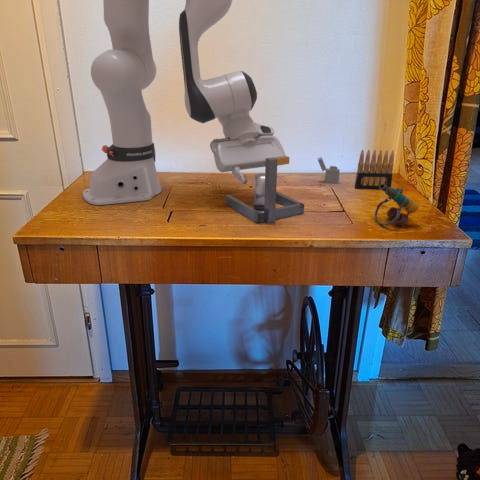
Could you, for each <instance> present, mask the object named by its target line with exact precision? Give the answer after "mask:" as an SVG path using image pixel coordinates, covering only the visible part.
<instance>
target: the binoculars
mask: <svg viewBox="0 0 480 480" xmlns="http://www.w3.org/2000/svg"><path fill="white" fill-rule="evenodd" d="M379 188H380V189H381V191H382V192H384V194H385V195H386V196H387V197H386V198H384V199H383V201H381V202H379V203H378V204H377V206H376V208H375V211H374V218H375V221H376V222H377V223H378V224H379V225H381V226H390V225H392V224H393V223H395V224H396V225H397V226H399V227H404V226H405V225H406V224H407V223H408V221H409V215H410V214H414V213H416V212H417V211H418V210H419V209H420V208H419V207H420V204H418V203H417V202H415V201H414V200H411V199H410V197H408V196H406V195H405V194H403V193H404V189H403V187H401V186H399V187H397V188H396V189H395V188H393V187H392V186H391V187H387V186H386V185H385V184H380V185H379ZM392 200H393V201H394V202H395V203H396V205H397V207H392V206H391V207H390V208H389V209H388V210H387V213H386V216H387V218H388V219H390V220H391V221H389V222H387V223H382V222H379V220H378V213H379V212H378V211H379V209H380V207H381V205H383V204H385V203H388V202H390V201H392ZM403 208H404V210H405V211H406V212H407V214H406V213H402V212H401V211H403Z"/></svg>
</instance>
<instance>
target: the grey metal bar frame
mask: <svg viewBox="0 0 480 480" xmlns="http://www.w3.org/2000/svg"><path fill="white" fill-rule="evenodd" d="M289 164H290V156H288V155H287V156H286V155H285V156H281V157H272V158H266V165H265V167H264V168H265V170H264V171H265V198H264V211H258V210H255V209H254V207H251V206H250V205H248V204H246V203H245V202H243V201H241V200H239V199H238V198H236V197H235V196H232V195H230V194H226V195H225V205H227V206H229V207H230V208H232V209H233V210H235V211H236V212H238V213H239V214H241V215H243V216H245V217H246V218H247V219H248V220H251V221H252V222H254V223H255V224H262V223H266V224H267V225H270V224H274V223H276V220H279V219H285V218H289V217H294V216H297V215H303V214H304V213H305V204H304V203H302V202H300V201H298V200H296V199H294V198H292V197H290V196H288V195H286V194H284V193H281V192H279V191H278V190H277V182H278V180H277V178H278V177H277V175H278V166H283V165H289ZM277 204H279V205H282V206H281V207H277Z"/></svg>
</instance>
